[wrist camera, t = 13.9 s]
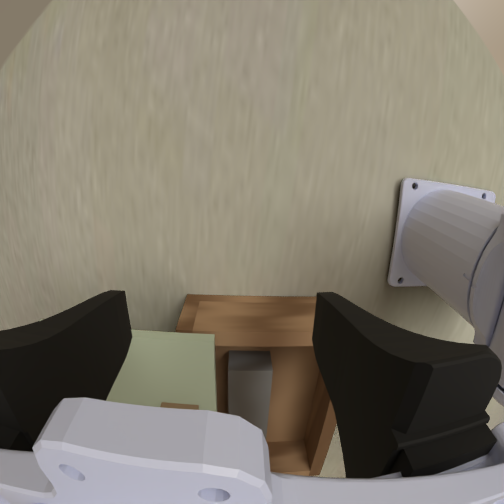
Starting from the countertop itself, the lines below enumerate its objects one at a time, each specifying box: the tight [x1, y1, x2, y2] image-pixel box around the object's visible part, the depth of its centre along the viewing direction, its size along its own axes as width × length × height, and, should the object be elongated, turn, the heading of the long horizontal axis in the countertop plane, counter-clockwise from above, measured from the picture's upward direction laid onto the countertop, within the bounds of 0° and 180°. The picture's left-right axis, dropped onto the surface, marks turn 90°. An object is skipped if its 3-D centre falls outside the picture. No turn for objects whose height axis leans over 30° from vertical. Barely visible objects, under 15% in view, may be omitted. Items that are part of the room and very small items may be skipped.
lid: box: [39, 319, 217, 412], centre depth 18 cm, size 12×16×4 cm
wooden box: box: [176, 294, 337, 476], centre depth 23 cm, size 11×16×5 cm
